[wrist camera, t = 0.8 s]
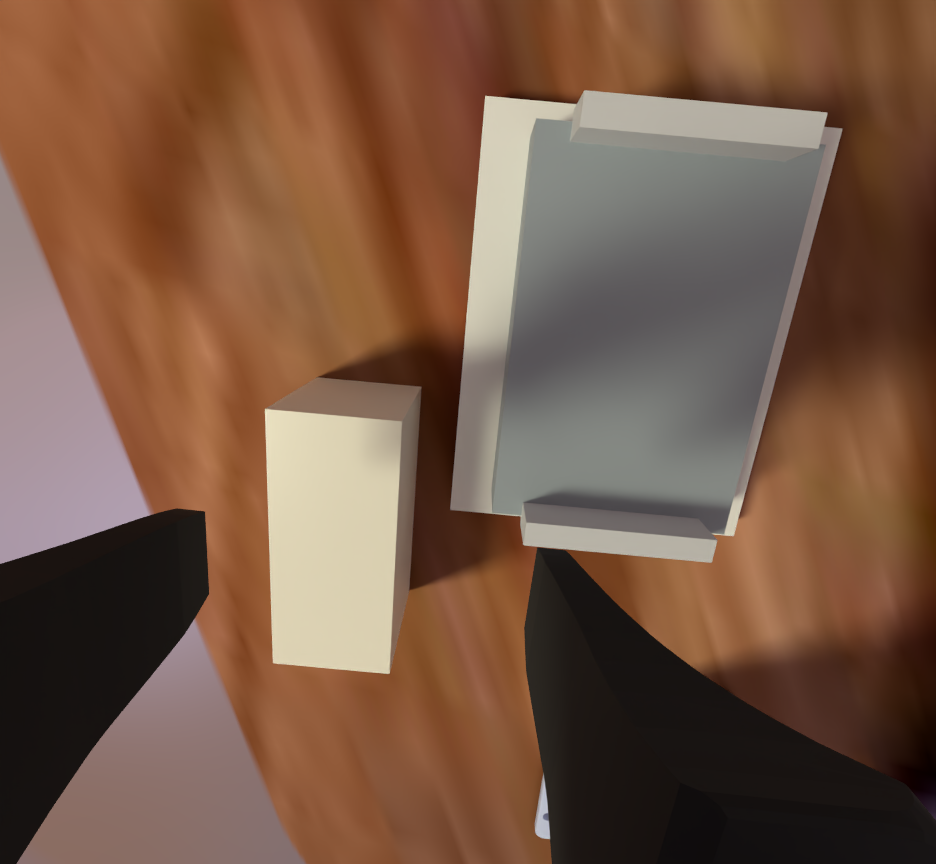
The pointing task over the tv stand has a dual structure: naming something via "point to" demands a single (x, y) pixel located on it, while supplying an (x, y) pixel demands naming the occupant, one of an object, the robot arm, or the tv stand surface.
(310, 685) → the tv stand surface
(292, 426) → the cream rectangular box
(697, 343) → the display stand
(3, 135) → the tv stand surface
